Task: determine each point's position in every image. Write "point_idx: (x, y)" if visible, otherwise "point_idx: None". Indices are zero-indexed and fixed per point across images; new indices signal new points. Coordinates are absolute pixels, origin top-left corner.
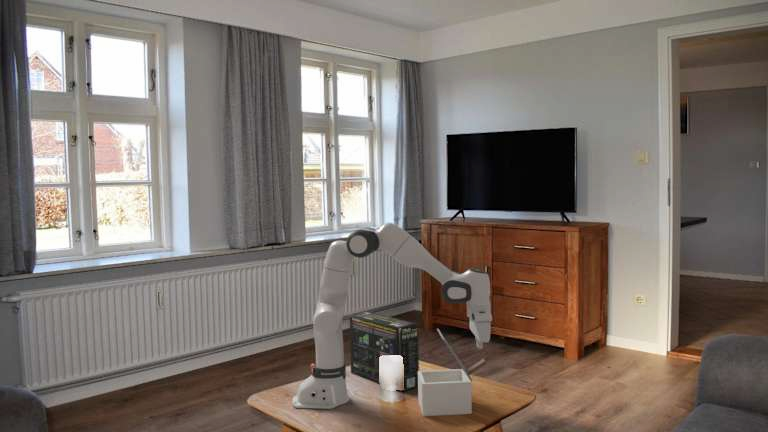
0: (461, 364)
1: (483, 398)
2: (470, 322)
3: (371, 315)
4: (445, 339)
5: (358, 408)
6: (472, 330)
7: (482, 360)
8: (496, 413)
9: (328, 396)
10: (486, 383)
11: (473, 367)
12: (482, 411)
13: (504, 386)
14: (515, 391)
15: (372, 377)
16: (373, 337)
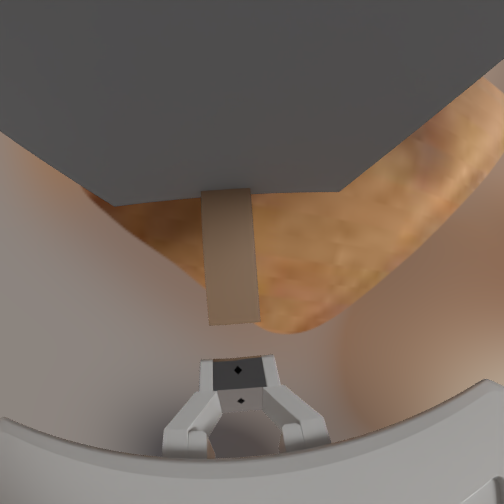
0: (55, 168)
1: (288, 221)
2: (499, 454)
3: None
4: (448, 38)
5: None
6: (386, 458)
7: (237, 311)
8: (160, 241)
9: None
10: (395, 249)
11: (218, 238)
12: (175, 203)
13: (362, 289)
14: (322, 310)
15: None
16: None
